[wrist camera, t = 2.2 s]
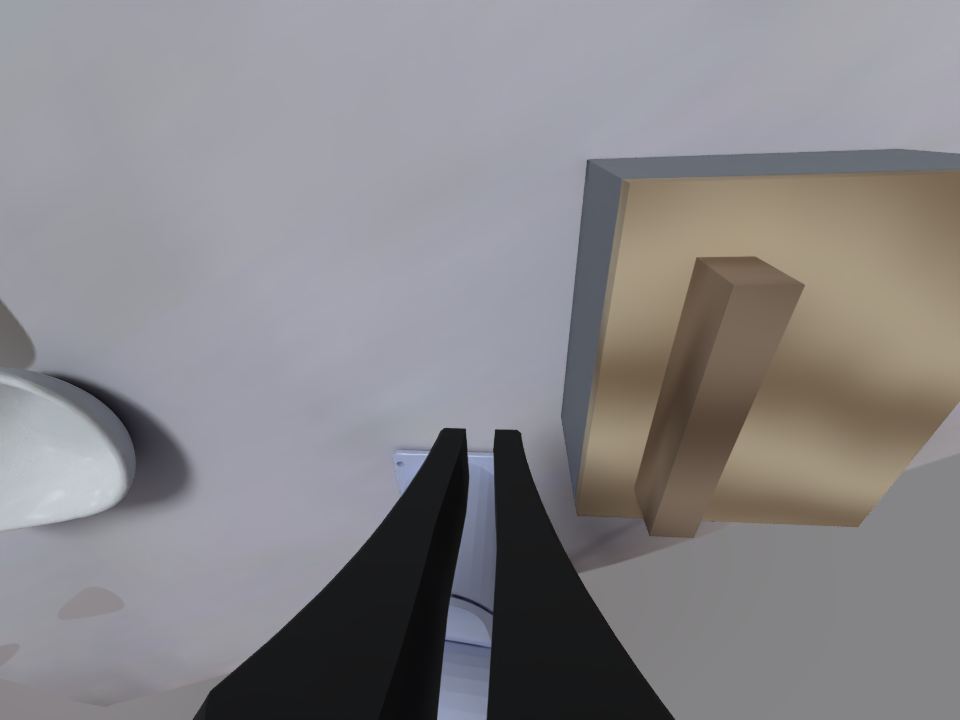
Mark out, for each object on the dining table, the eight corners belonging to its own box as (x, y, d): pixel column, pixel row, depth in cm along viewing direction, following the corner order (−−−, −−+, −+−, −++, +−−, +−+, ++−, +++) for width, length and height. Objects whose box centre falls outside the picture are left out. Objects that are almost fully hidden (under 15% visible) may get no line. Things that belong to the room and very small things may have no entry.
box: (768, 420, 22) (842, 509, 17) (561, 416, 23) (574, 499, 18) (900, 149, 15) (1098, 164, 10) (587, 159, 16) (621, 178, 11)
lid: (844, 511, 17) (901, 578, 15) (574, 500, 18) (584, 562, 16) (1103, 165, 10) (1309, 182, 7) (622, 179, 11) (656, 198, 8)
